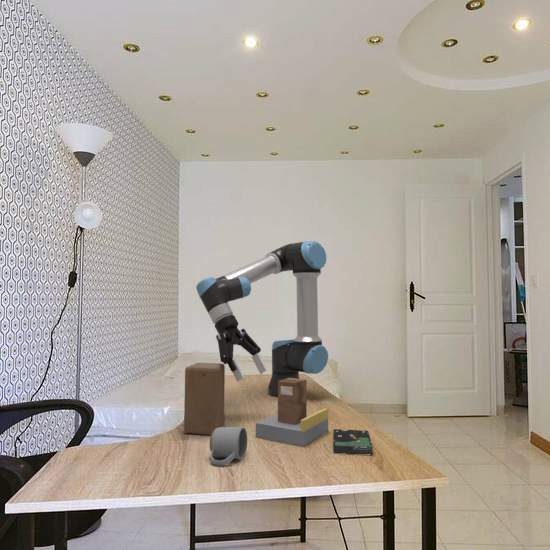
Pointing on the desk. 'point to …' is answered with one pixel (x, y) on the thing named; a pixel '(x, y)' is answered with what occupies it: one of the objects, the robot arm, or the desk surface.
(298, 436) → the dock
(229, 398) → the desk surface
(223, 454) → the ceramic mug
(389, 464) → the desk surface
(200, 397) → the wooden block
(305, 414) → the cardboard box
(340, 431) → the disk drive
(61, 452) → the desk surface
